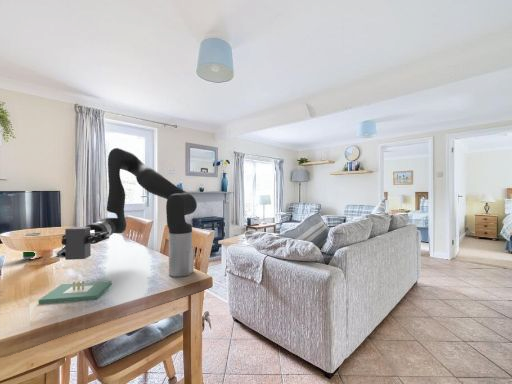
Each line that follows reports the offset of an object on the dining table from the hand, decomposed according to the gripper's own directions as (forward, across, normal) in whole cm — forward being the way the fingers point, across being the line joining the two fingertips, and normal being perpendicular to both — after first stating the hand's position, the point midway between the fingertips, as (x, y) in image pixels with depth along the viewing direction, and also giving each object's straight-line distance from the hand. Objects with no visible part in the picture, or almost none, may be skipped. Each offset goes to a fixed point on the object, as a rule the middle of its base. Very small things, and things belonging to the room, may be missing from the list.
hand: (74, 241), depth 78 cm
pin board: (-2, 0, +18) cm, 18 cm away
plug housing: (-3, 0, +6) cm, 7 cm away
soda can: (-51, -42, +18) cm, 68 cm away
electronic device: (-58, -30, +19) cm, 68 cm away
